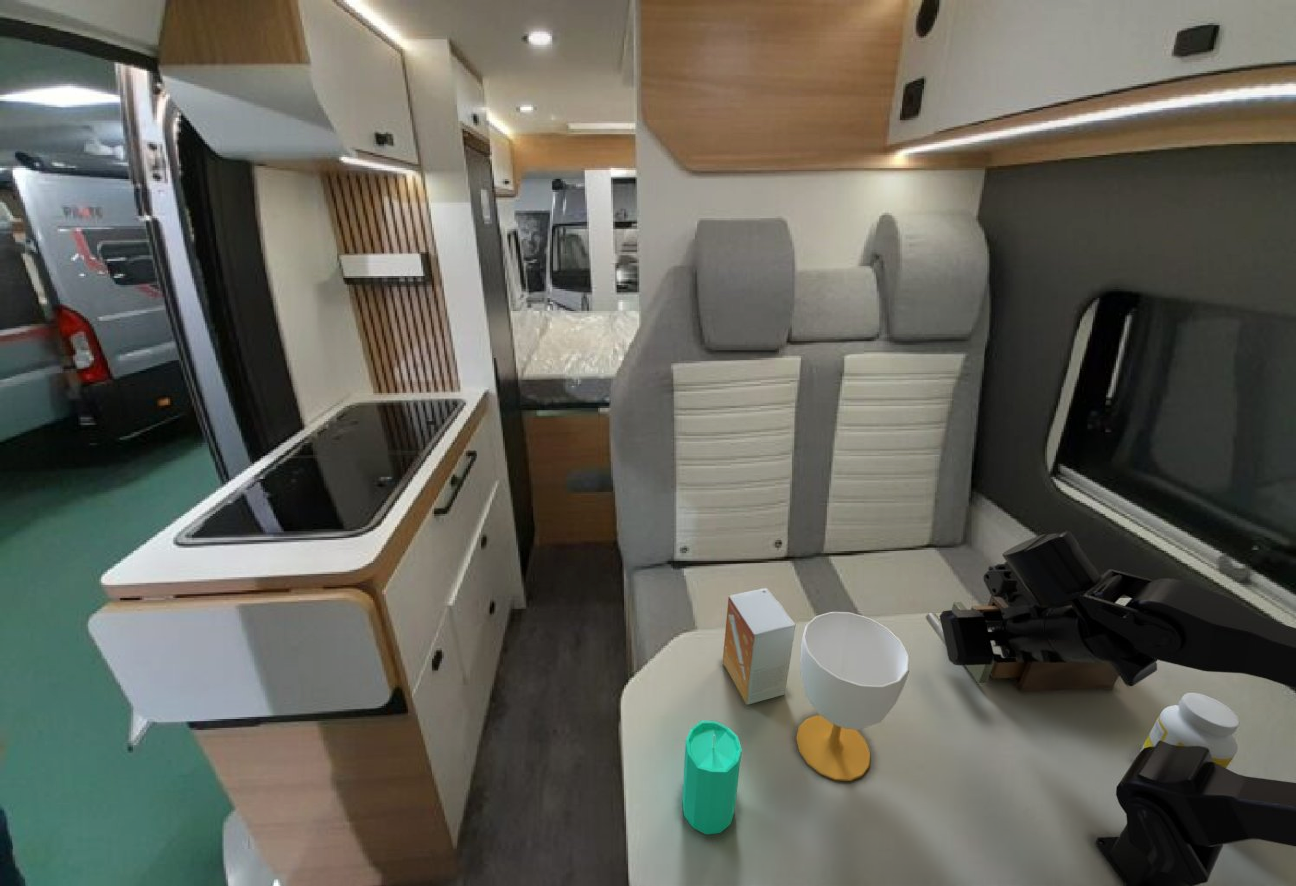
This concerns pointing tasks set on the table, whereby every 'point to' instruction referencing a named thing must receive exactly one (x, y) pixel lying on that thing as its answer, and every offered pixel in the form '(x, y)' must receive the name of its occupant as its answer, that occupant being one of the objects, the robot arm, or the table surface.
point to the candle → (710, 776)
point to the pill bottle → (1198, 727)
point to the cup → (847, 689)
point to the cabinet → (1062, 672)
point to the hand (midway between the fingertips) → (981, 636)
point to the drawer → (981, 671)
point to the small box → (758, 645)
